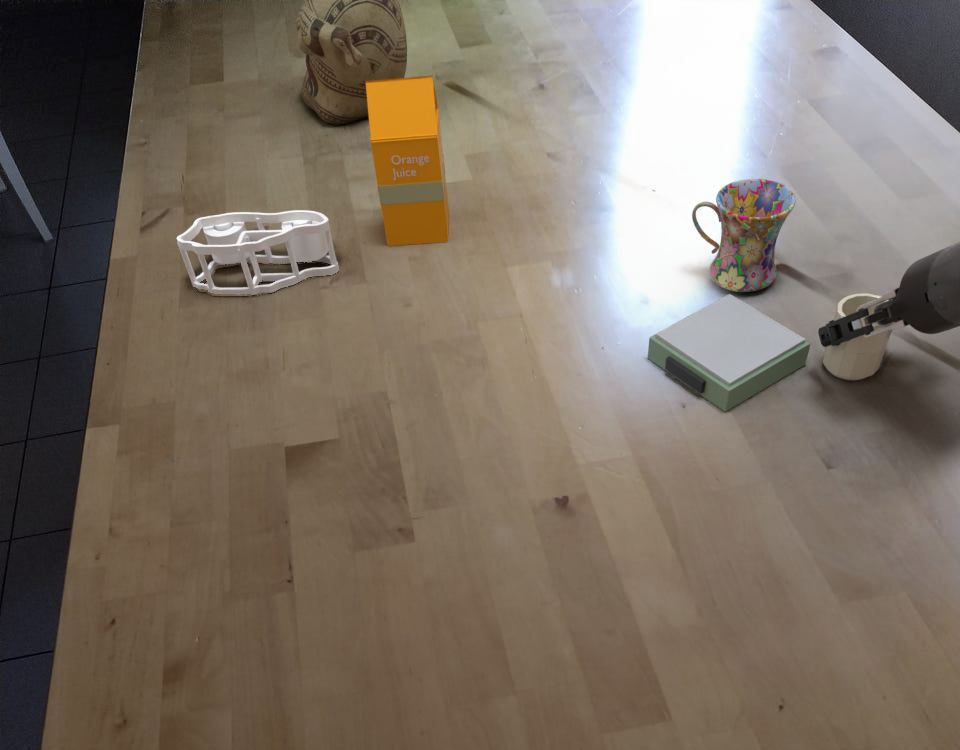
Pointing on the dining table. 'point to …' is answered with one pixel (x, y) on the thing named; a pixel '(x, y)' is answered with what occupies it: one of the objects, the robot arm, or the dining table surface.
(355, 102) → the ceramic vessel
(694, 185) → the dining table surface
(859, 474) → the dining table surface
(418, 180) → the orange juice
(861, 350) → the pen cup
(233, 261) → the white lattice frame
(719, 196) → the mug
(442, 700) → the dining table surface
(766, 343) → the scale
